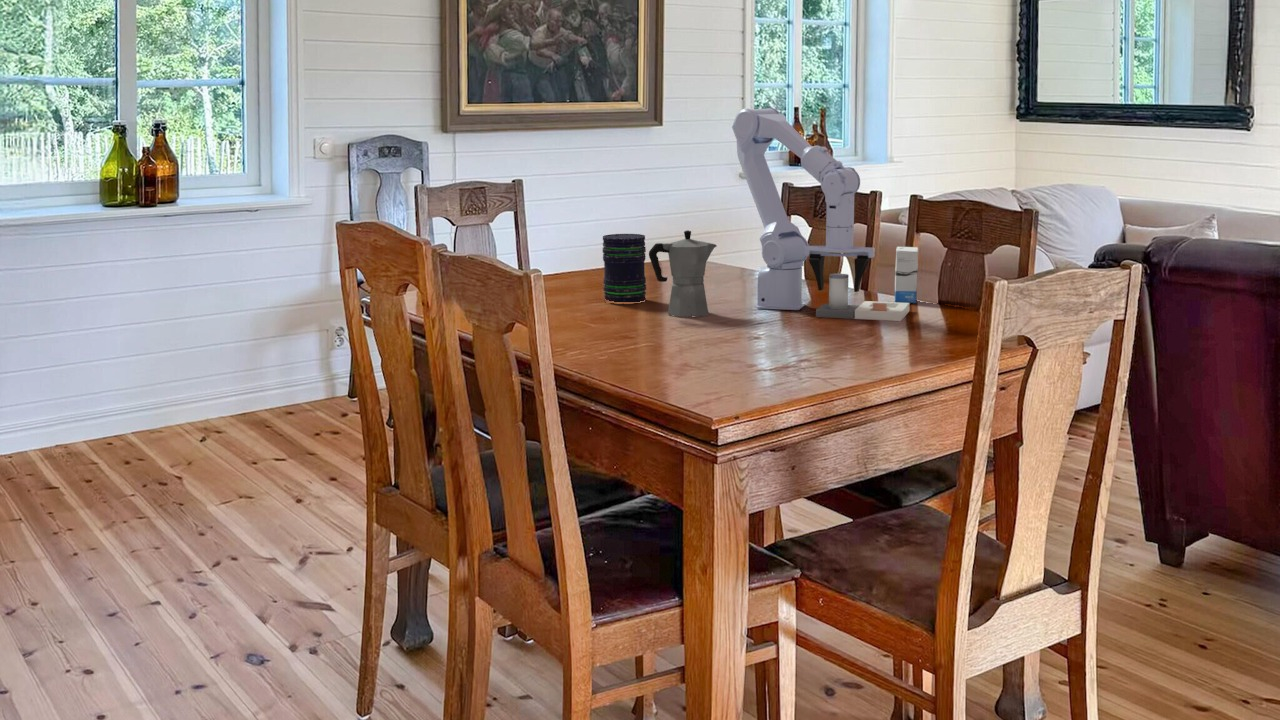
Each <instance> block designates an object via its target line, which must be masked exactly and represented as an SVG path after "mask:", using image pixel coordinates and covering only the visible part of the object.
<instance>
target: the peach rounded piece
mask: <svg viewBox="0 0 1280 720" xmlns="http://www.w3.org/2000/svg"><path fill="white" fill-rule="evenodd" d="M873 311H887V304H886V303H873Z"/></svg>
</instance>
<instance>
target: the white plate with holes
mask: <svg viewBox="0 0 1280 720" xmlns="http://www.w3.org/2000/svg"><path fill="white" fill-rule="evenodd" d="M873 303H886V304H887V311H873ZM910 304H911V303H899V302H895V301H894V302H893V301H876V300H875V301H871V300H869V301H868V300H864V301H863V302H862V303H861V304H860V306H859V307H858V308H857V309H856V310H855V318H854V320H871V321H872V320H873V321H874V320H876V321H894V322H901V321H903V320H904V318H905V317H906V316H907V315H908V313H909V312H910V306H911V305H910Z"/></svg>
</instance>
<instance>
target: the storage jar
mask: <svg viewBox="0 0 1280 720" xmlns="http://www.w3.org/2000/svg"><path fill="white" fill-rule="evenodd" d="M645 240H646V235H644V234H641V233H640V234H639V233H614V234H605V235H603V236H602V241H603V242H602V261H603V263H604V264H603V266H604V277H603V280H602V281H603V286H602V288H603V296H604V298H605V299H606V300H609V301H614V302H640V301H644V300H646V301H647V298H646V294H647V292H646V290H647V284H646V283H647V282H646V280H647V277H646V276H645V273H646V272H645V261H646V257H647V256H646V251H647V248H646V242H645Z"/></svg>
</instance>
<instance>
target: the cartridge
mask: <svg viewBox="0 0 1280 720" xmlns="http://www.w3.org/2000/svg"><path fill="white" fill-rule="evenodd" d="M828 287H829V288H828V304H829V308H831V309H847V308H848V305H849V274H848V273H830V274H829V279H828Z"/></svg>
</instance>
